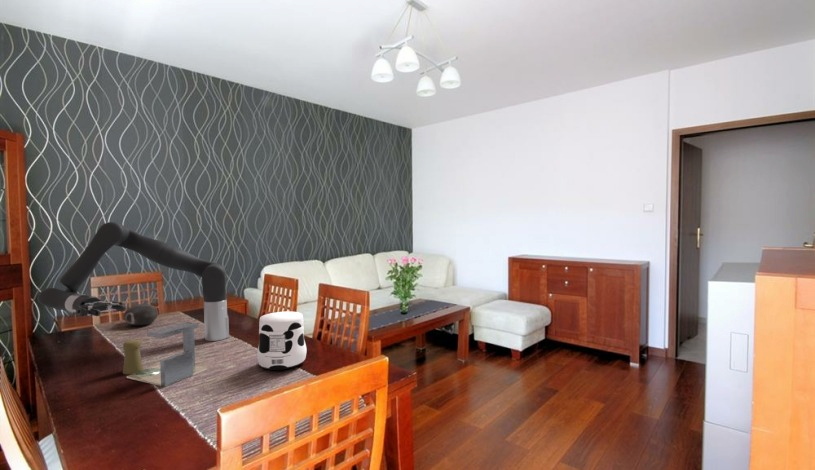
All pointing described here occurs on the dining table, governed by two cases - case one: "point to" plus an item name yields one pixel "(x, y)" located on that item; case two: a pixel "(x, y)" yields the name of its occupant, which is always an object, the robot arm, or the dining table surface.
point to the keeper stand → (172, 358)
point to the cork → (132, 357)
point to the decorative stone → (140, 314)
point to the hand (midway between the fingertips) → (111, 310)
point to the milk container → (281, 340)
